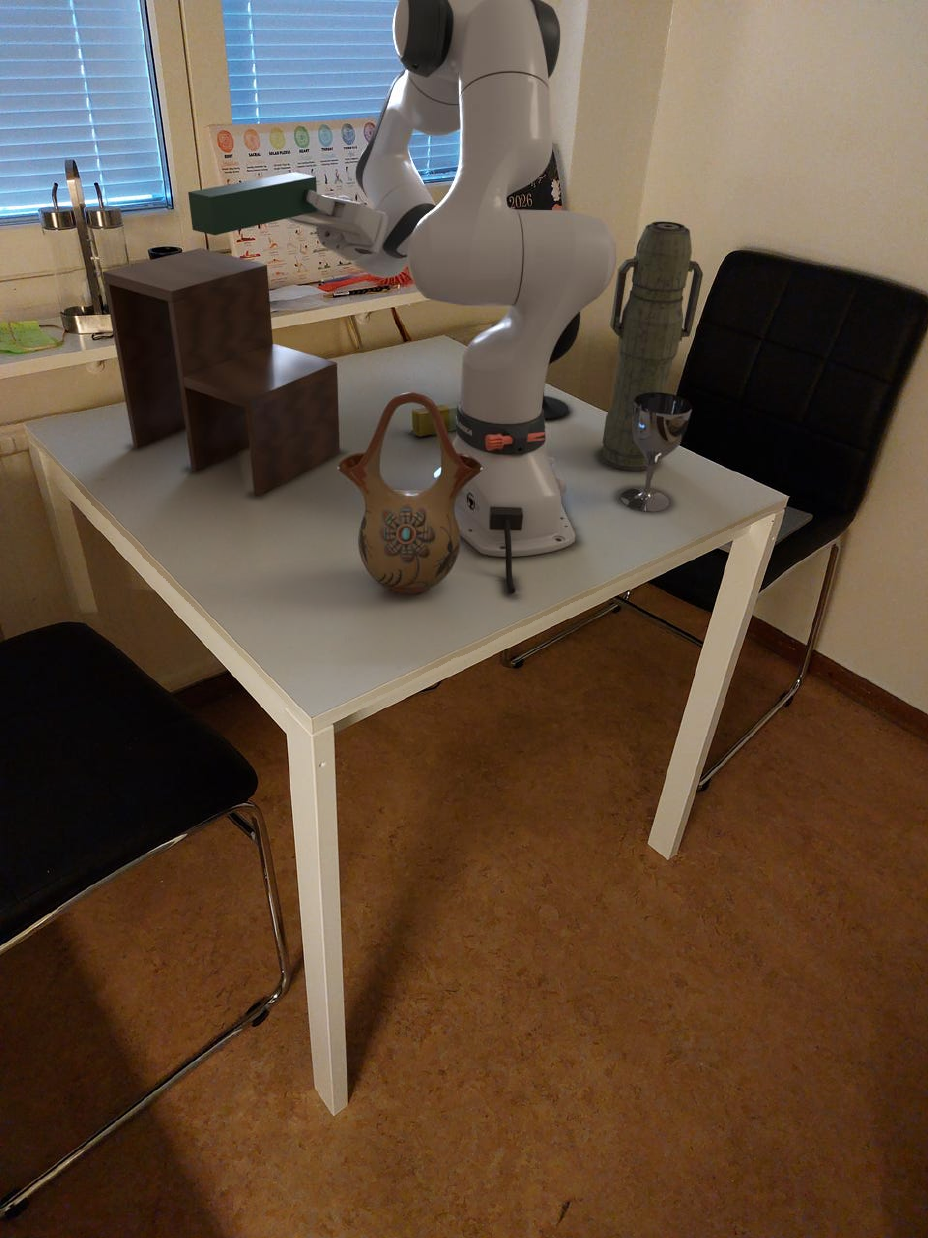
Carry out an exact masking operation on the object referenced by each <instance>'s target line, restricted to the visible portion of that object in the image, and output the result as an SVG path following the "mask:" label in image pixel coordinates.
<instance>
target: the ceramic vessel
mask: <svg viewBox="0 0 928 1238" xmlns="http://www.w3.org/2000/svg"><path fill="white" fill-rule="evenodd" d="M407 404H417V405H420V406H422V407H423V408H426V409H427V410H428V412H429V414H430V416H431V419H432V422H433V424H434V427H435V431H436V434H435V435H436V436H437V437H436V438H437V441H438V446H439V453H440V455H439V456H440V468H441V472H440V475H438V477H437V480H435V482H434V483H433V484H432V485H430V486H429V487H427V488H425V489H395V488H393V487H391V486H389V485H388V484H387V483H386V482H385V480H384V479H383V477H382V473H381V458H382V450H383V445H384V440H385V437H386V434H387V431H388V428H389V425H390V422H391V421H392V418H393V416H394V414H395V412H396V410H397V409H398V408H399V407H400V406H402V405H407ZM452 443H453V442H452V440H451V438H450V436H449V434H448V431H446V428H445V425H444V422H443V420H442V417H441V415H440V412H439V410H438V408H437V404H436V403H435V402H434V401H433V400H432V399H431V398H430V397H429V396H427V395H425V394H422V393H419V392H414V391H409V392H404V393H401V394H399V395H396V396H394V397H393V398H391V399H390V400H389V401H388V403H387V404H386V406H385V407H384V409H383V411H382V412H381V416H380V418H379V420H378V422H377V425H376V428H375V431H374V433H373V436H372V438H371V440H370V443H369V445H368V447H367V449H366V450H365V452H355V453H352V454H350V455H348V456H345V457H344V458H343V459H342V460H340V461H339V462H338V464H337V466H336V468H337V470H338V471H339V472H340V473H341V474H342V475H343V476H345V477H346V478H347V479H348V480H349V481H351V482H352V484H354V486H355V487H356V488H357V490H359V492H360V494H361V496H362V499H363V502H364V514H363V517H362V518H361V519H362V520H361V522H360V525H359V528H358V529H359V530H358V537H357V538H358V539H357V545H358V552H359V556H360V560H361V562H362V564H363V565H364V568H365V570H366V571H367V573H368V574H369V575H370V576H371V578H372V579H373V580H374V581H375V582H377V583H378V584H379V585H381V586H382V587H384V588H385V589H387V590H389V591H390V592H391V591H392V592H394V593H397V594H403V595H414V594H415V595H416V594H420V593H424V592H426V591H429V590H431V589H432V588H434V587H436V586H437V585H438V584H441V582H442V581H444V579H446V578H447V577H448V575H449V574H450V573H451V571H452V569H453V568H454V566H455V564H456V562H457V560H458V556H459V554H460V548H461V535H460V531H459V526H458V523H457V520H456V517H455V512H454V508H455V501H456V498H457V496H458V494H459V492H460V491H461V490H462V488H463V487H464V486H465V485H466V484H467V483H468V482H469V481H470V480H471V479H472V478H474V477H475V476H476V475H478V474H479V473H480V472H481V471H482V470H483V467H482V465H481V464H480V463H479V462H478V461H477V460H476V459H474V458H472V457H471V456H468V455H466V454H457V452H456V450H455V449H454V447H453V445H452Z"/></svg>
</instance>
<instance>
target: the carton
mask: <svg viewBox="0 0 928 1238" xmlns="http://www.w3.org/2000/svg"><path fill="white" fill-rule="evenodd" d="M305 189H308V190H313V191H315V192H316V193H318V185H317V176H315V175H311V174H305V173H301V172H297V171H296V172H295V171H293V172H289V173H284V174H278V175H273V176H267V177H262V178H255V179H250V180H246V181H240V182H235V183H230V184H225V185H219V186H214V187H207V188H203V189H202V188H201V189H197V190H191V191H188V192H187V194H188V202H189V210H190V211H189V212H190V219H191V220H190V221H191V227H192V231H196V232H199V233H202V234H207V235H211V236H219V235H223V234H227V233H232V232H235V231H239V230H244V229H248V228H253V227H257V226H261V225H265V224H270V223H275V222H278V221H282V220H286V219H287V218H291V217H295V216H299V215H304V214H308V213H312V212H316V211H318V209H317V208H316V207H314V206H312V205H309V204H307V203H306V202H304V201H303V200H302V196H303V193H304V190H305Z"/></svg>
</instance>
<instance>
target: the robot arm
mask: <svg viewBox="0 0 928 1238" xmlns="http://www.w3.org/2000/svg"><path fill="white" fill-rule="evenodd" d="M395 7H396V8H395V10H394V15H393V21H392V35H393V43H394V46H395V53H396V58H397V59H398V61H399V62H400V64H401V66H402V67H403V68H404V70H402V71H401V72H399V73H398V74H397V75H396V77H395V78H394V79H393V80H392V83H391V85H390V87H389V89H388V91H387V94H386V96H385V99H384V101H383V105H382V107H381V110H380V113H379V116H378V118H377V120H376V124H375V127H374V130H373V131H372V135H371V138H370V140H369V142H368V143H367V145H366V146H365V149H364V150H363V151H362V153H361V154H360V157H359V158H358V161H357V163H356V168H355V180H356V182H357V185H358V186H359V187H360V189H361V190H362V192H363V193H364V195H365V196H366V198H367V199H368V200H369V203H370V205H371V206H372V207H371V206H370V205H367V204H365V203H362V202H358V201H356V200H354V199H353V198H352V197H349V196H347V195H339V196H338V195H337V196H335V197H332V196H327V195H322V194H320V193H318V192H317V193H316V192H315V191H313V190H308V189H305V190H304V193H303V196H302V200H303V201H304V202H306V203H307V204H309V205H312V206H314V207H316V208H317V209H318V211H316V212H312V213H308V214H304V215H299V216H295V217H291V218H287V219H285V220H286V221H288V222H290V223H293V224H296V225H299V226H304V227H308V228H312V229H315V231H316V237H317V239H318V241H319V243H320V244H321V245H322V246H323V247H324V248H325V249H327V250H329V251H330V252H331V253H333V254H335V255H336V256H338V257H339V258H341V259H343V260H345V261H349V262H350V263H351V265H353V266H354V267H356V268H357V269H359V270H361V271H362V272H364V273H366V274H368V275H370V276H373V277H376V278H381V279H390V278H394V277H397V276H399V275H401V273H403V272H404V271H405V269H406V268H408V272H409V275H410V278H411V281H412V283H413V284H414V286H415V287H416V289H417V291H418V292H419V293H420V294H421V295H422V296H423V297H424V298H425V299H428V300H432V301H436V302H441V303H445V304H449V305H450V304H451V305H456V306H460V307H462V306H463V307H465V306H466V307H467V306H468V307H469V306H471V307H473V306H474V307H475V306H477V307H479V306H481V307H482V306H483V307H485V306H486V307H487V306H488V307H489V306H490V307H491V306H493V307H494V306H495V307H497V306H498V307H499V306H501V307H503V306H504V307H505V306H506V307H507V306H508V307H509V306H510V307H509V309H508V311H507V313H506V314H505V316H504V317H502V319H500V321H499V322H498V323H497V324H495V325H494V326H492V327H489V328H488V329H485V330H484V331H481V332H480V333H479V334H477V335H476V336H475V337H474V338H472V340H471V341H470V342H469V344H467V346H466V348H465V350H464V352H463V355H462V363H461V382H460V400H459V401H460V402H459V401H458V402H459V403H458V406H457V412H456V418H455V421H456V430H455V432H456V434H455V435H456V436H455V438H454V440H453V441H452V442H451V443H452V445H453V447H454V449H455V450H456V452H457V454H466V455H468V456H471V457H472V458H474V459H476V460H477V461H478V462H479V463H480V464H481V465H482V467H483V470H482V471H481V472H480V473H479V474H478V475H476V476H475V477H474V478H472V479H471V480H470V481H469V482H468V483H467V484H466V485H465V486H464V487H463V488H462V490H461V491H460V492H459V494H458V496H457V498H456V501H455V508H454V512H455V517H456V520H457V523H458V526H459V531H460V537H462V538H463V539H464V540H465V541H466V542H467V543H468V544H470V545H471V547H473V549H475V551H477V552H478V553H480V554H481V555H484V556H489V557H490V556H491V557H500V558H505V578H506V579H505V580H506V585H507V589H508V591H509V594H511V595H512V594H515V593H516V588H515V584H514V579H513V558H515V557H528V556H534V555H541V554H547V553H553V552H555V551H558V550H559V551H560V550H562V549H565V548H567V547H569V546H571V545H572V544H574V543H575V542H576V533H575V531H574V528H573V526H572V524H571V522H570V520H569V517H568V515H567V513H566V511H565V509H564V506H563V505H562V495H563V494H565V493H566V491H567V481H566V480H567V479H566V478H565V477H563V476H556V474H555V471H554V468H555V463H556V461H555V458H554V457H550V456H549V453H548V449H547V446H546V443H545V442H546V435H547V433H546V428H547V427H546V426H547V425H546V420H545V419H544V410H543V408H542V402H543V394H544V395H545V387H546V380H547V375H548V369H549V366H550V365H549V361H550V357H551V354H552V351H553V349H554V346H555V344H556V342H557V340H558V339H559V337H560V335H561V334H562V332H563V331H564V329H565V328H566V326H567V325H568V324H569V322H570V321H571V320H572V319H573V318H574V317H575V316H576V315H577V314H578V313H579V312H580V313H581V311H582V310H583V309H585V308H586V307H587V306H588V305H590V304H591V303H593V302H594V301H596V300H597V299H598V298H600V297H601V296H602V294H603V293H604V292H605V291H606V289H608V286H609V285H610V283H611V282H612V279H613V276H614V274H615V271H616V270H615V269H616V266H617V248H616V247H617V246H616V243H615V239H614V236H613V234H612V231H611V230H610V228H609V227H608V224H606V222H605V221H604V220H603V219H601V218H599V217H594V216H591V215H588V214H584V213H579V212H575V211H571V210H560V209H559V210H557V209H555V210H554V209H553V210H552V209H516V208H512V207H509V205H508V201H507V198H508V197H509V196H510V195H512V194H513V193H516V192H517V191H519V190H521V189H524V188H526V187H527V186H529V185H530V184H532V183H534V182H535V181H536V180H537V179H538V178H539V177H540V176H542V174H543V173H544V172H545V171H546V169H547V168H548V167H549V164H550V161H551V159H552V154H553V135H552V116H551V115H552V113H551V94H550V81H549V79H550V78H551V76H552V75H553V73H554V71H555V68H556V65H557V61H558V58H559V53H560V47H561V25H560V21H559V19H558V15H557V13H556V10H555V9H554V7H553V6H552V5H550V4H548V3H547V2H546V1H543V0H398V1H397V5H396V6H395ZM415 131H417V132H419V133H422V134H425V135H428V136H435V137H442V136H448V135H451V134H454V133H456V132H457V131H459V133H460V134H459V137H460V138H459V141H460V142H459V158H458V166H457V170H456V173H455V177H454V180H453V182H452V183H451V185H450V188H449V189H448V191H447V193H446V194H445V196H444V197H443V198H442V199H441V201H440V202H439V203H438V204H436V202H435V201H434V198H433V197H432V195H431V194H430V192H429V190H428V188H427V187H426V185H425V183H424V181H423V179H422V177H421V176H420V173H419V172H418V169H417V168H416V166H415V164H414V162H413V160H412V157H411V153H410V150H409V143H410V141H411V139H412V136H413V134H414V132H415ZM548 365H549V366H548ZM440 472H441V467H439V468H438V469H437V470H436V471H435V472H434V474H433V475H434V478H438V477H439V476H440Z"/></svg>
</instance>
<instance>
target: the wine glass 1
mask: <svg viewBox="0 0 928 1238" xmlns="http://www.w3.org/2000/svg"><path fill="white" fill-rule="evenodd" d="M580 326H581V311H580V312H579V313H578V314H577V315H576V316H575V317H574V318H573V319H572V320H571V321H570V322H569V324H568V325H567V326H566V328H565V329H564V331H563V332H562V334H561V335H560V337H559V339H558V340H557V342H556V344H555V346H554V349H553V351H552V354H551V357H550V361H549V365H548V367H549V366H550V365H551V364H552V363H555V362H556V361H558V360H559V359H560V358H562V357H563V356H564V355H566V354H567V353H568V352H569V351H570V349H571V348H572V347H573V345H574V344H575V342H576V340H577V338H578V335H579V331H580ZM542 408H543V410H544V419H545V421H555V420H559V419H562V418H564V417H566V416H567V415H568V414H569V411H570V410H569V406H568V405H567V404H566V403H565V402H564V401H562V400H560V399H557V398H555V397H551V396H545V393H544V394H543V402H542Z"/></svg>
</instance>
